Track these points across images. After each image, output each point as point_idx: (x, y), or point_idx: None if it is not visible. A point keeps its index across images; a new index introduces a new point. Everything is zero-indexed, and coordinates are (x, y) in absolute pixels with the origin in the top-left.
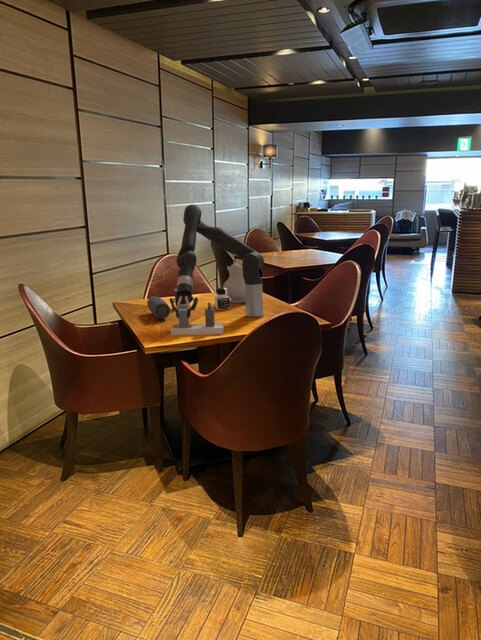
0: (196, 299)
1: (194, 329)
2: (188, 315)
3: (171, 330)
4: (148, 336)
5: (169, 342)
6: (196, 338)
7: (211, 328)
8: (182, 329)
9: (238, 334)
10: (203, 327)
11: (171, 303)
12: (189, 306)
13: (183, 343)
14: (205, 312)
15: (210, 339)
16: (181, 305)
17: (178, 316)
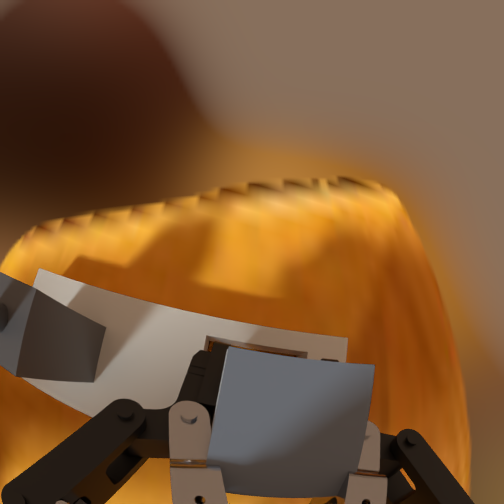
0: (26, 485)
1: (185, 311)
2: (214, 342)
3: (340, 338)
4: (431, 349)
5: (328, 219)
6: (192, 244)
7: (86, 284)
8: (269, 327)
9: (19, 250)
10: (122, 317)
11: (448, 478)
12: (177, 431)
13: (263, 186)
14: (47, 295)
15: (133, 209)
16: (320, 394)
17: (321, 359)
